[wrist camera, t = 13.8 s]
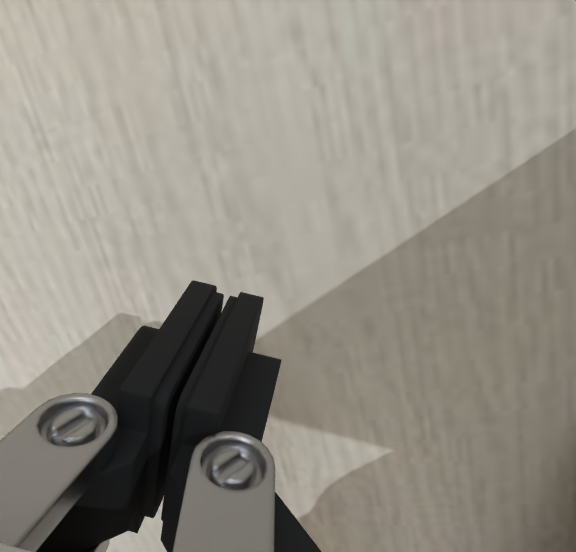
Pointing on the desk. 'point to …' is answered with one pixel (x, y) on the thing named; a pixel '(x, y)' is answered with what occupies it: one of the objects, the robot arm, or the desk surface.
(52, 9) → the desk surface
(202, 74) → the desk surface
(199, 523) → the robot arm
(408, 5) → the desk surface
